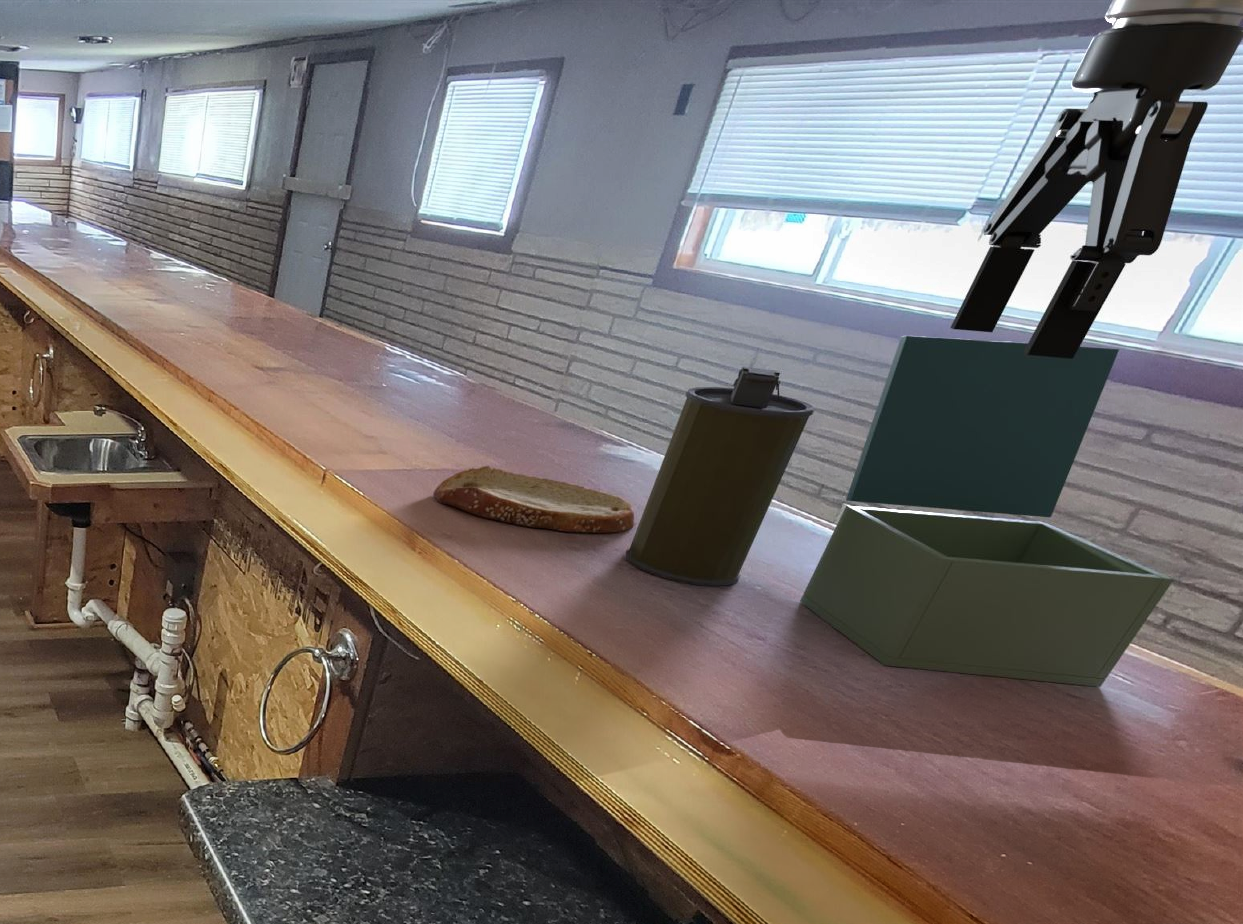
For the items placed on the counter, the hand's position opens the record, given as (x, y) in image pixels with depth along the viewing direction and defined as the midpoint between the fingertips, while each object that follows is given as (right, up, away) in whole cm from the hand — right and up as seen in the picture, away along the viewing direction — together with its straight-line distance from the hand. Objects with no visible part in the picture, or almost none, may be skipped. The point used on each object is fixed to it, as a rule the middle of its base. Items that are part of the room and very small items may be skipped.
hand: (1006, 342), depth 78 cm
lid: (+6, -5, +8) cm, 11 cm away
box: (+4, -24, +10) cm, 26 cm away
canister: (-10, -15, +24) cm, 30 cm away
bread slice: (-18, -7, +38) cm, 43 cm away
